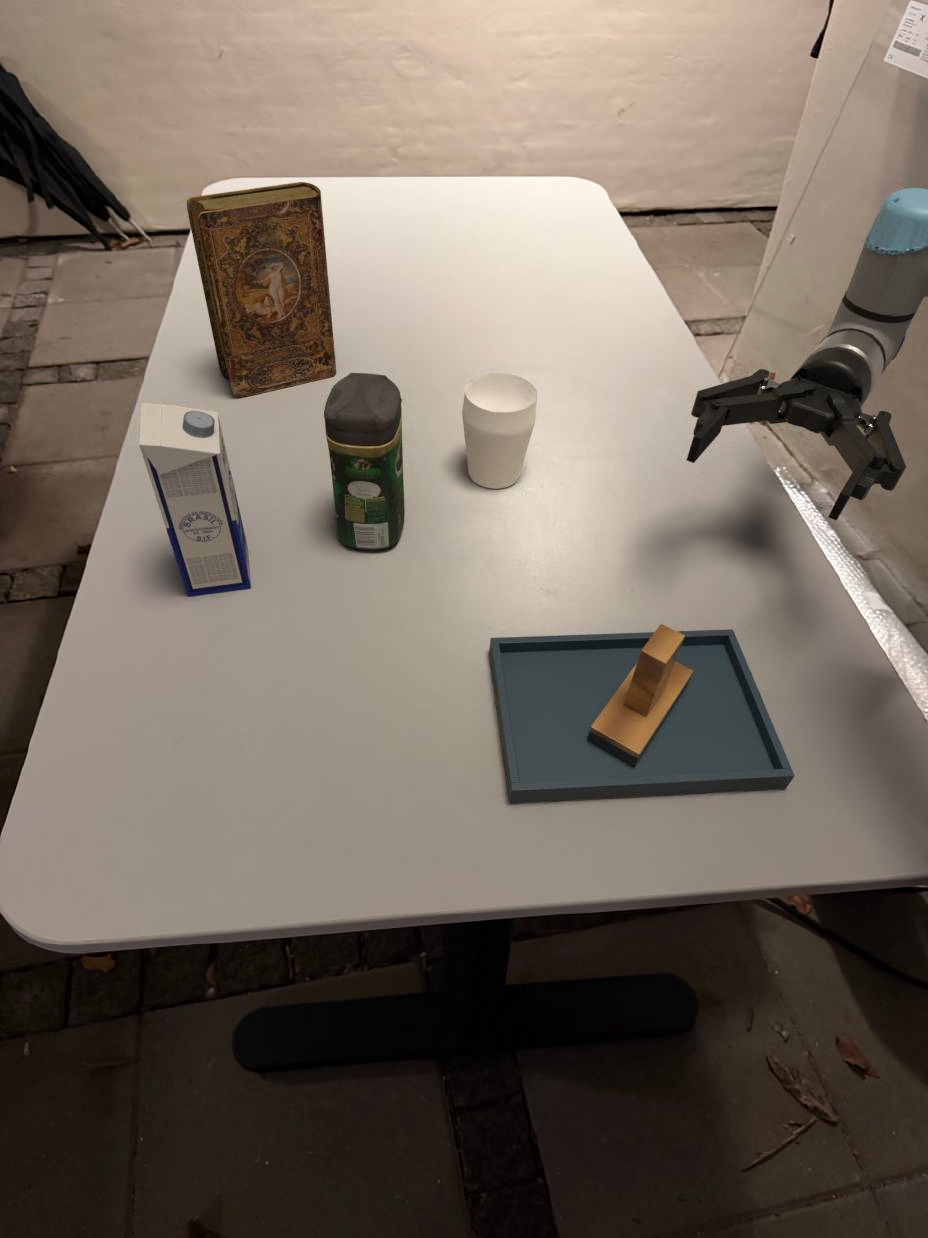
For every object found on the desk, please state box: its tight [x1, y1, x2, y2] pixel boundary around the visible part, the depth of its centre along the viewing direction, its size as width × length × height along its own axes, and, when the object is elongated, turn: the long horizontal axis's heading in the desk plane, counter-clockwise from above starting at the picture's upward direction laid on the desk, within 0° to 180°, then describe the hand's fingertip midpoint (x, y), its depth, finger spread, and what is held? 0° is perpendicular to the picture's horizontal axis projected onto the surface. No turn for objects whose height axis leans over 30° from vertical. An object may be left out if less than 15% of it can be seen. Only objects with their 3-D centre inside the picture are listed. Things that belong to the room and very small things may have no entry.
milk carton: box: [138, 402, 252, 598], centre depth 79 cm, size 7×7×20 cm
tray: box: [488, 628, 795, 805], centre depth 75 cm, size 18×26×2 cm
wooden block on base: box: [587, 623, 693, 767], centre depth 71 cm, size 5×12×10 cm, turn 145°
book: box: [186, 181, 337, 398], centre depth 105 cm, size 16×6×25 cm, turn 118°
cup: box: [461, 372, 538, 490], centre depth 97 cm, size 9×9×12 cm
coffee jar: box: [323, 372, 406, 551], centre depth 86 cm, size 10×8×19 cm
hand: (763, 477), depth 70 cm, fingers open, 13 cm apart
